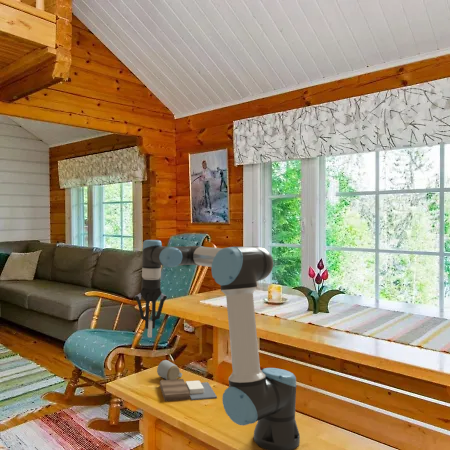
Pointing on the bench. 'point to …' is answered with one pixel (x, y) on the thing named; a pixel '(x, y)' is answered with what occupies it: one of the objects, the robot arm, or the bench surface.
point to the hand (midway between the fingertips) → (149, 336)
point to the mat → (206, 395)
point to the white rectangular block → (195, 387)
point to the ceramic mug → (168, 370)
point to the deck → (174, 390)
